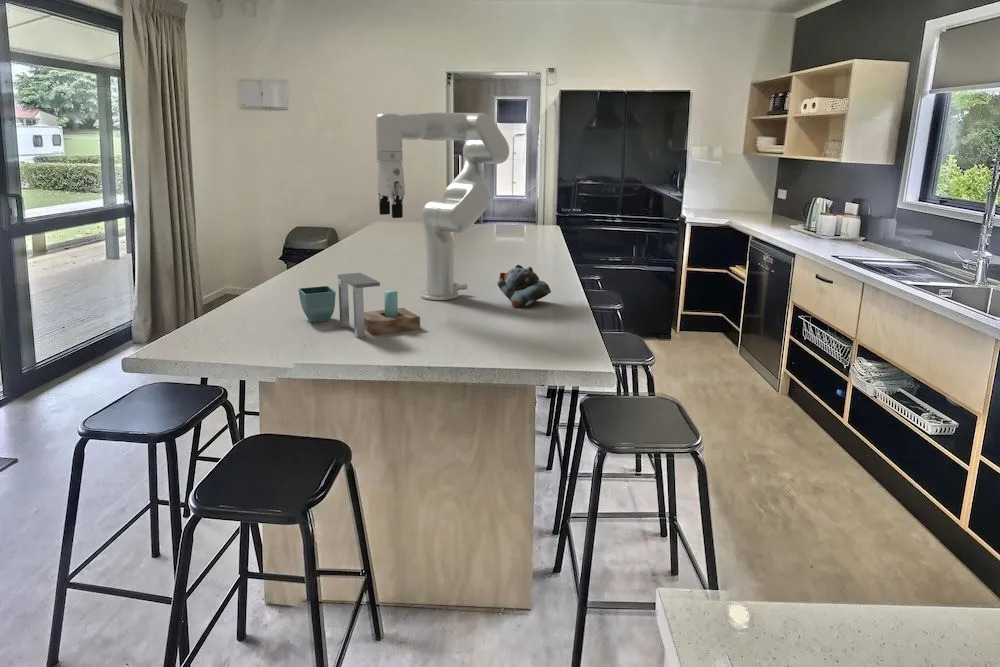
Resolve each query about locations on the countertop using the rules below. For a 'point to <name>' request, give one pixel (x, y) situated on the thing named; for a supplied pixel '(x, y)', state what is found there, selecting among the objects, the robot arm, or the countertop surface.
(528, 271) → the lucky cat figurine
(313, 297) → the flower pot
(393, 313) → the peg
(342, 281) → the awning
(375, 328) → the socket
